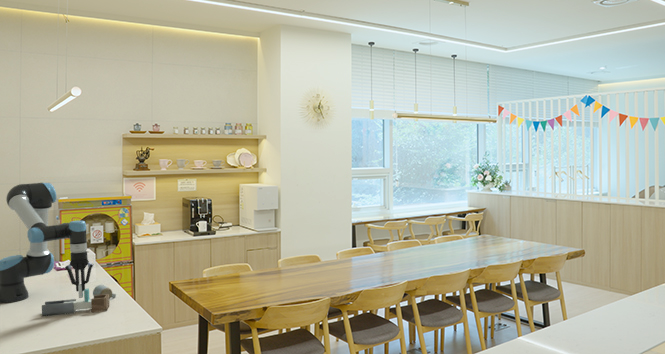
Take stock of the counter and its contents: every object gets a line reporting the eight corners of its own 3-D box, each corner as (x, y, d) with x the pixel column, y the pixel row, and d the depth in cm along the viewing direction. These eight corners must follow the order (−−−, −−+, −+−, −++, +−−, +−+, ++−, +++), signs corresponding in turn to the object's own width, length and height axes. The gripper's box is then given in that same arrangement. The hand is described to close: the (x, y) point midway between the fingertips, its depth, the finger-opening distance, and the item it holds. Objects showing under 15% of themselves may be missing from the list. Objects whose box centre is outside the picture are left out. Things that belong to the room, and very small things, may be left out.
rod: (64, 309, 247) (63, 290, 246) (102, 305, 252) (102, 287, 251) (62, 311, 243) (61, 292, 243) (101, 307, 248) (100, 289, 248)
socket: (94, 307, 253) (94, 295, 252) (109, 305, 255) (108, 293, 254) (91, 312, 245) (91, 299, 245) (106, 310, 247) (106, 298, 247)
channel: (46, 312, 246) (45, 301, 246) (76, 309, 250) (76, 299, 249) (42, 316, 240) (41, 305, 239) (73, 313, 244) (72, 302, 243)
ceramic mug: (100, 302, 260) (100, 288, 260) (92, 300, 265) (92, 286, 265) (119, 298, 269) (118, 284, 268) (111, 295, 274) (110, 282, 273)
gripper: (62, 253, 240) (64, 300, 242) (91, 251, 244) (93, 298, 245) (66, 250, 247) (68, 296, 249) (94, 249, 251) (96, 294, 252)
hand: (81, 297), depth 247 cm, fingers closed
